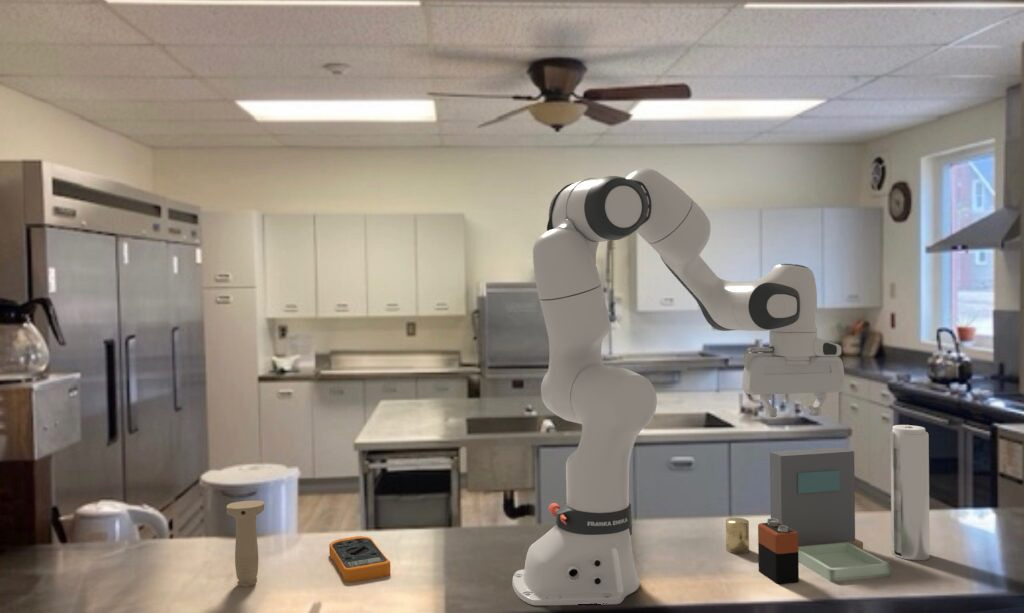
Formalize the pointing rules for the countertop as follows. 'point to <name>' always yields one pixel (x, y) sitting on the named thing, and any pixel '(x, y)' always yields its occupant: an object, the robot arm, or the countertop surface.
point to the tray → (842, 562)
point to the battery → (778, 552)
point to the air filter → (910, 492)
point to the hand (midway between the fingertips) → (793, 416)
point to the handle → (246, 540)
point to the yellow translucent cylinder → (737, 535)
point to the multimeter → (359, 558)
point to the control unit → (815, 494)
